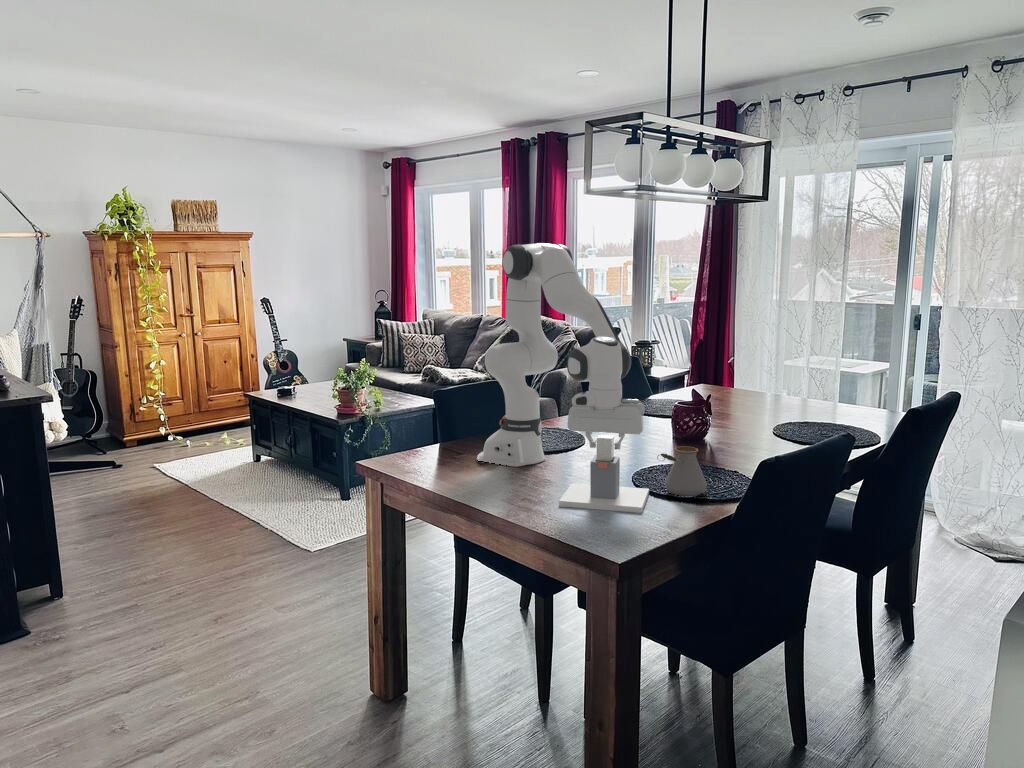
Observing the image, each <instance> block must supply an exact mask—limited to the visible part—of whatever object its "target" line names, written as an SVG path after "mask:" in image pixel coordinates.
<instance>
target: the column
mask: <svg viewBox="0 0 1024 768" xmlns="http://www.w3.org/2000/svg"><path fill="white" fill-rule="evenodd" d="M614 439H615V437H614V435H604V434H603V435H602V434H601V435H600V434H599V435H598V436H597V438H596V455H597V461H601V462H613V461H614V456H615V455H614V453H615V449H614V447H615V446H614V443H615V440H614Z"/></svg>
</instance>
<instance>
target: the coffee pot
mask: <svg viewBox="0 0 1024 768" xmlns="http://www.w3.org/2000/svg"><path fill="white" fill-rule="evenodd" d="M674 451H675V454H676V457H675V456H672V455H670V454H667V453H660V454H658V455H657V456H656V457H657V460H658V461H659V462H661V460H660V459H659V456H661V457H662V458H663V460H662V462H664V461H665V460H666V459H667V460H668V461H672V462H673V464H672V465H671V468H670V470H669V472H668V474H667V476H666V478H665V481H664V486H665V488H666V489H667V491H668V492H669V493H671V494H672V493H673V494H675V495H679V496H696V495H699V494H700V495H701V494H702V493H704V491H706V489H707V487H708V483H707V481H706V479H705V476H704V474H703V471H702V469H701V467H700V465H699V462H698V459H697V453H699V449H698V448H697V447H693V446H687V445H686V446H683V445H682V446H676V447H674ZM700 495H699V496H700Z"/></svg>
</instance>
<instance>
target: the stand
mask: <svg viewBox="0 0 1024 768" xmlns="http://www.w3.org/2000/svg"><path fill="white" fill-rule="evenodd" d="M620 459H621V458H620V456H615V455H614V461H613V462H601V461H597V454H595V455H594V456H593V458H592V459H590V460H591V461H590V462H589V463H590V464H589V465H590V468H589V469H590V474H589V475H590V482H589V483H590V484H589V483H577V482H576V483H575V482H573V483H571V484H570V485H569V487H568V488H567V489H566V490H565V492H564V493H563V494H562V496H561V498H560V499H559V500H558V506H559V507H567V508H576V509H577V508H579V509H586V510H587V509H589V510H590V509H591V510H598V511H599V510H600V511H601V510H602V511H613V512H625V513H635V514H636V513H637V514H643V512H644V509H645V506H646V502H648V501H647V500H648V497H649V495H650V488H645V487H643V488H641V487H629V486H620V472H621V471H620V470H621V469H620V468H621V467H620V461H621V460H620Z"/></svg>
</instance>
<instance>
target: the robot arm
mask: <svg viewBox="0 0 1024 768" xmlns="http://www.w3.org/2000/svg"><path fill="white" fill-rule="evenodd" d="M501 262H502V263H501V265H502V269H503V273H504V274H505V276H506V277H507V278H508V279H507V283H506V284H507V285H506V296H505V299H506V300H505V322H506V324H507V326H508V327H509V328H510V329H512V330H514V331H515V332H517V335H518V338H519V340H518V341H517V342H507V343H499V344H498V345H494V346H492V347H491V346H490V347H489V348H488V350H487V351H486V352H485V356H484V366H485V369H486V371H487V372H488V374H490V376H492V377H493V378H495V380H496V381H497V382H498V383H499V385H500V386H501V388H502V391H503V395H504V403H505V415H504V416H502V418H501V419H500V420H499V423H498V425H499V426H500V428H499V429H498V430H497V431H495V432H494V433H493V434H491V435H490V436H489V437H488V438H487V439H486V440H485V442H484V446H483V451H481V452H479V453H478V454H477V455H476V461H477V460H478V461H484V462H489V463H488V464H491V463H495V464H494V465H499V464H501V466H506V465H507V466H509V467H517V468H518V467H522V466H526V465H528V466H529V465H535V464H539V463H541V462H544V460H546V456H545V453H544V450H543V444H542V438H541V437H542V435H541V434H542V418H541V416H540V413H541V412H540V395H539V393H538V391H537V390H536V389H534V388H533V387H532V386H529V385H528V383H527V382H526V376H531V375H533V376H534V375H541V374H544V373H546V372H549V371H551V370H553V369H555V367H556V366H557V364H558V362H559V361H558V360H559V355H558V354H559V353H558V349H557V347H556V346H555V345H554V343H552V342H551V341H550V340H549V339H548V338H547V336H546V334H545V333H544V330H543V326H542V314H541V313H542V308H541V306H542V291H543V294H544V297H545V299H546V302H547V304H549V306H550V307H551V309H553V310H554V311H556V312H558V313H561V314H563V315H567V316H571V317H575V318H576V319H580V320H582V321H583V322H584V323H586V324H587V325H588V326H589V327H590V328H591V329H592V332H593V334H594V337H593V338H592V339H590V341H589V342H588V343H587V344H586V345H582V346H580V347H577V348H574V349H572V350H571V351H570V353H569V354H568V357H567V360H566V368H567V369H566V370H567V372H568V375H569V376H570V377H571V378H572V379H573V380H575V381H576V382H582V383H583V382H589V385H588V390H586V391H583V392H578V393H577V394H575V395H574V396H573V397H572V398H571V405H572V406H571V407H570V408H569V410H568V415H567V416H568V417H567V428H568V430H569V431H571V432H584V433H585V436H586V438H587V440H588V442H589V448H590V449H596V448H597V439H596V440H594V439H593V437H592V434H593V433H605V434H618V438H619V440H618V441H614V450H621V447H622V446H621V444H622V441H623V440H624V439H625V436H626V435H627V434H628V435H641V433H642V432H643V431H644V417H643V416H644V414H645V410H646V409H645V404H644V402H643V401H641V400H639V399H637V398H634V399H632V398H623V384H622V379H624V378H625V377H626V376H627V374H628V373H629V371H630V369H631V366H632V356H631V354H630V351H628V349H627V347H626V346H625V345H624V343H623V342H622V340H621V339H620V337H619V335H618V334H617V332H616V329H615V328H614V327H613V324H612V322H611V320H610V318H609V316H608V315H607V313H606V311H605V309H604V307H603V306H602V304H601V302H600V301H599V299H598V298H597V297H596V296H594V295H593V294H591V293H590V292H589V290H588V289H587V288H586V286H585V285H584V284H583V282H582V280H581V278H580V275H579V273H578V270H577V267H576V265H575V262H574V260H573V255H572V252H571V250H570V248H569V247H568V246H567V245H564V244H559V243H548V242H547V243H545V242H536V243H527V244H525V243H524V244H513V245H511V246H508V247H507V248H506V249H505V251H504V252H503V254H502V261H501ZM478 461H477V462H478ZM484 462H483V463H484Z"/></svg>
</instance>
